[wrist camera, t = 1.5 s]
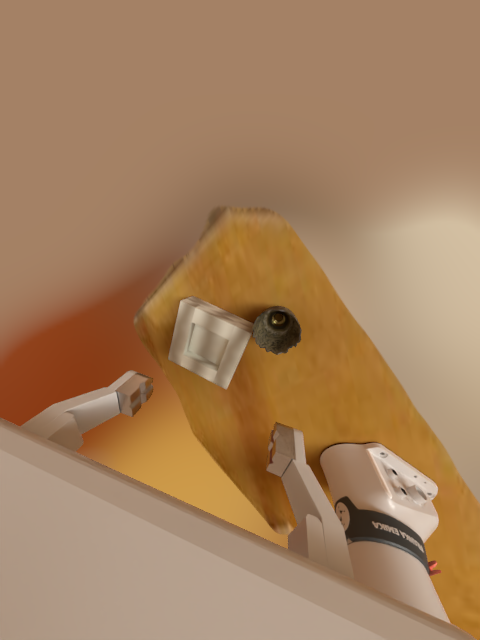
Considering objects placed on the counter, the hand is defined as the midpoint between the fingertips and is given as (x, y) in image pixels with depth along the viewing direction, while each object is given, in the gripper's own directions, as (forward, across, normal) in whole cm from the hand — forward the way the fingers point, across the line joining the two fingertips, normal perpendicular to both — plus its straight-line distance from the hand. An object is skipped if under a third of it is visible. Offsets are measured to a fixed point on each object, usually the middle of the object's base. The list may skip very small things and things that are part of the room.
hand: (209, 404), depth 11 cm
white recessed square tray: (+25, -8, -12) cm, 29 cm away
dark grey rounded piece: (+25, +4, -3) cm, 25 cm away
